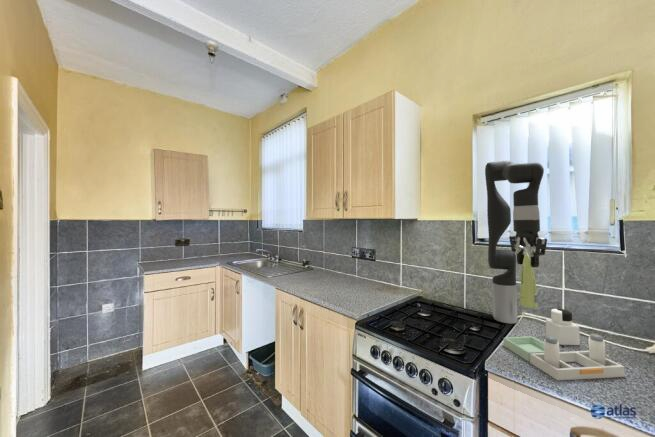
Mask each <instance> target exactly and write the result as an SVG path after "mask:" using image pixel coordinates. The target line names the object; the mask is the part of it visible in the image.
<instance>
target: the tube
mask: <svg viewBox="0 0 655 437" xmlns="http://www.w3.org/2000/svg"><path fill="white" fill-rule="evenodd" d="M535 276H536V275H535V272H534V267H531V256H530V255H529V253H528V250H525V253H524V260H523V264H521V273H520V285H519V286H520V288H519V289H520V291H519V292H520V306H522V307H525V308H529V309H537V308H538V307H539V303H538V290H537V283H536V278H535Z"/></svg>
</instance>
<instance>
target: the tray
mask: <svg viewBox="0 0 655 437" xmlns="http://www.w3.org/2000/svg"><path fill="white" fill-rule="evenodd" d="M503 346H504V347H505V348H506V349H508V350H510V351H511V352H513V353H515V354H516V355H518V356H520V357H521V358H522V359H524V360H525V361H527V362H528V363H529V362H530V354H532V353H544V341H542V340H540V339H538V338H536V337H534V336H512V337H511V336H510V337H508V336H507V337H503ZM559 352H561V350H559Z"/></svg>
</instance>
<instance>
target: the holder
mask: <svg viewBox="0 0 655 437" xmlns="http://www.w3.org/2000/svg"><path fill="white" fill-rule="evenodd" d="M559 357H560V368H558V369H557V368H556V367H554V366H552V365H551V364H549V363H547V362H546V361H545V360H544V353H532V354H530V364H531V365H533V366H535V367H536V368H538V369H539V370H541V371H542V372H544V373H546V374H547V375H548V376H550V377H551V378H553V379H554V380H556V381H567V380H568V381H570V380H572V381H574V380H589V379H590V380H591V379H607V378H608V379H609V378H611V379H612V378H625V377H626V370H625V366H624V365H622V364H620V363H617V362H616V361H613V360H611V359H609V358H607V357H606V366H604V365H602V364H600V363H598V362H596V361H594V360H592V359H590V358H589V350H573V351H572V350H571V351H560V352H559ZM568 363H577V364H579V365H581V367H579V366H577V367H574V366H572V365H570V364H568Z"/></svg>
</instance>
